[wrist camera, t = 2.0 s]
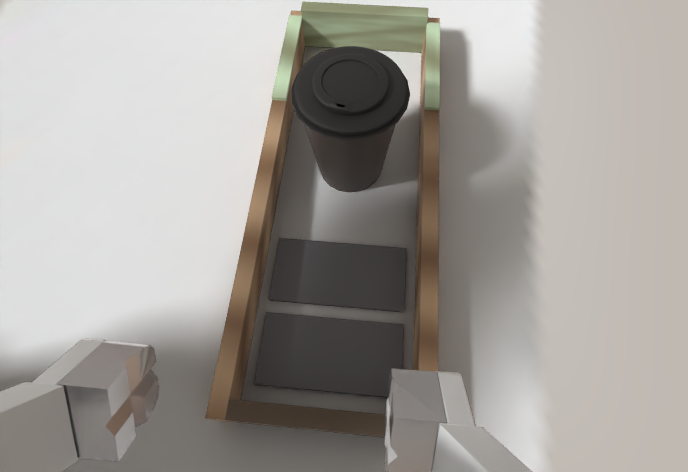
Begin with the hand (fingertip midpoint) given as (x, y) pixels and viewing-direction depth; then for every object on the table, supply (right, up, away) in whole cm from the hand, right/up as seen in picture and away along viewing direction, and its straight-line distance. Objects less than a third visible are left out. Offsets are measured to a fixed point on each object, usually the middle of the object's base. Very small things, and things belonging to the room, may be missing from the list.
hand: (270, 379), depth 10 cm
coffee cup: (+2, +9, +28) cm, 30 cm away
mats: (+1, -2, +22) cm, 23 cm away
